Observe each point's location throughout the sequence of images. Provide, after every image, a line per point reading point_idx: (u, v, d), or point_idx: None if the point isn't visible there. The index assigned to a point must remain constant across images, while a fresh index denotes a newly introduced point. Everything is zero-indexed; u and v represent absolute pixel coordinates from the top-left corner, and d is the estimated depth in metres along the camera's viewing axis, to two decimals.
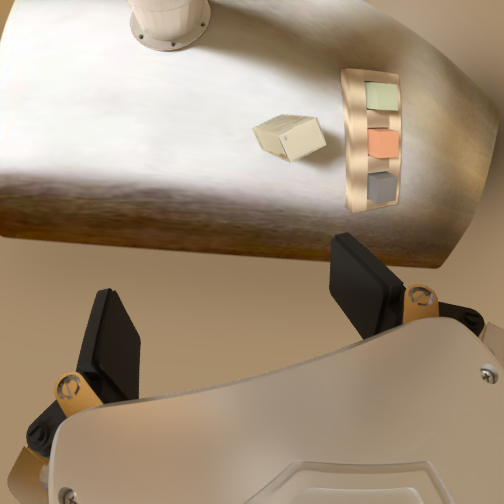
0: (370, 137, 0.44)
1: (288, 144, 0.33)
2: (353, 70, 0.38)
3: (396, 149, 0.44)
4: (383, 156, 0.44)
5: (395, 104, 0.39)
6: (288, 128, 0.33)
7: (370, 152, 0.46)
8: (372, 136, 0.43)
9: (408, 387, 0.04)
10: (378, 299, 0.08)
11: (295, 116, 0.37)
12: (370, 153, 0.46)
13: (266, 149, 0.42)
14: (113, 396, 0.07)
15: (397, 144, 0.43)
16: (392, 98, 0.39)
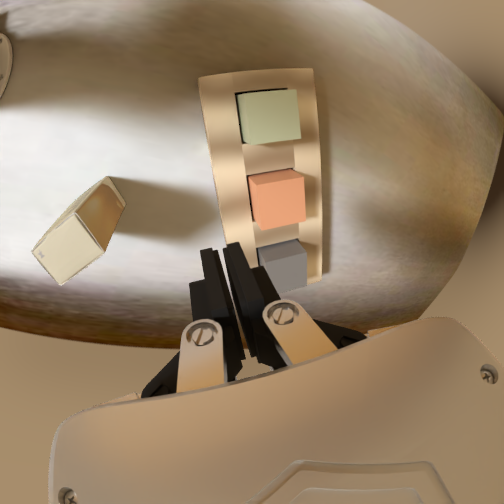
0: (252, 192, 0.29)
1: (48, 262, 0.18)
2: (209, 78, 0.23)
3: (300, 210, 0.29)
4: (272, 225, 0.29)
5: (294, 127, 0.24)
6: (44, 237, 0.18)
7: (255, 216, 0.31)
8: (253, 191, 0.29)
9: (408, 387, 0.04)
10: None
11: (88, 193, 0.22)
12: (255, 218, 0.31)
13: None
14: None
15: (302, 200, 0.28)
16: (286, 117, 0.24)
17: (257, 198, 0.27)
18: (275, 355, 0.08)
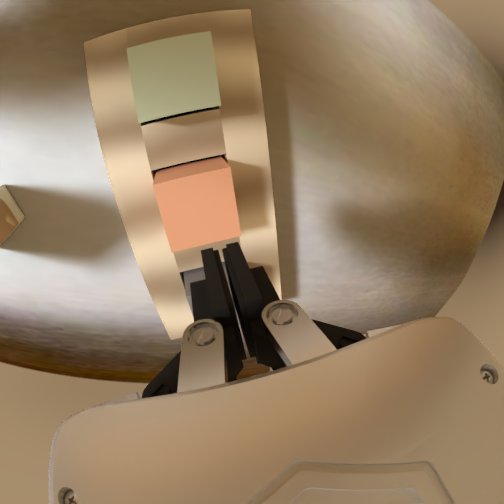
0: None
1: None
2: (96, 41, 0.12)
3: (229, 219, 0.19)
4: (186, 245, 0.19)
5: (208, 89, 0.14)
6: None
7: None
8: None
9: (408, 387, 0.04)
10: None
11: None
12: None
13: None
14: None
15: (232, 204, 0.18)
16: (193, 75, 0.13)
17: None
18: (275, 355, 0.08)
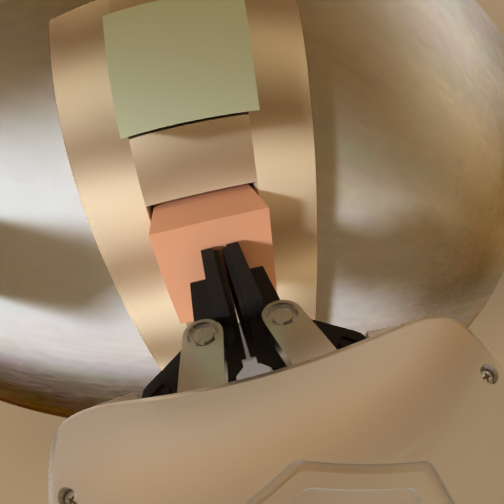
0: None
1: None
2: (67, 17, 0.07)
3: None
4: None
5: (238, 82, 0.08)
6: None
7: None
8: None
9: (408, 387, 0.04)
10: None
11: None
12: None
13: None
14: None
15: (268, 261, 0.13)
16: (214, 57, 0.08)
17: None
18: (275, 355, 0.08)
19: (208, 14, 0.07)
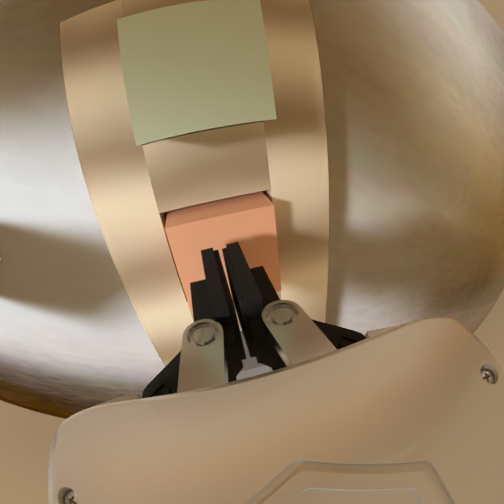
0: None
1: None
2: (78, 19, 0.07)
3: (268, 272, 0.14)
4: None
5: (255, 90, 0.08)
6: None
7: None
8: None
9: (408, 387, 0.04)
10: None
11: None
12: None
13: None
14: None
15: (273, 253, 0.14)
16: (231, 64, 0.08)
17: None
18: (275, 355, 0.08)
19: (225, 20, 0.07)
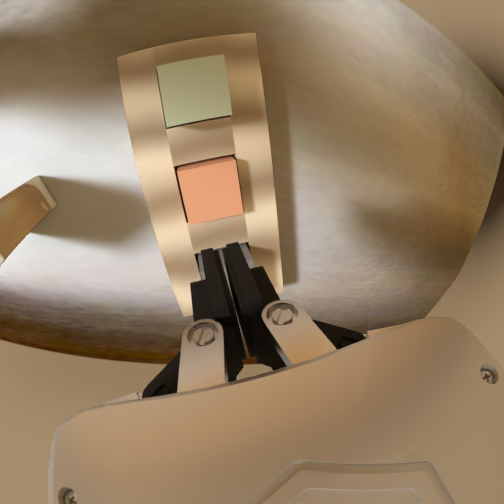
0: None
1: None
2: (128, 57, 0.17)
3: (234, 200, 0.24)
4: (201, 219, 0.24)
5: (221, 101, 0.18)
6: None
7: None
8: None
9: (408, 387, 0.04)
10: None
11: None
12: None
13: None
14: None
15: (236, 188, 0.24)
16: (210, 90, 0.18)
17: (180, 187, 0.23)
18: (275, 355, 0.08)
19: (207, 68, 0.17)
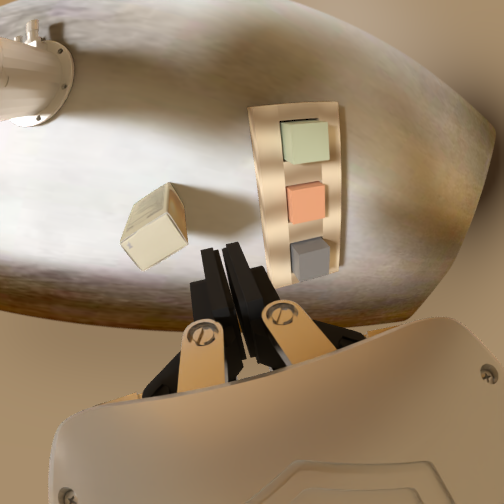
0: None
1: (135, 252, 0.26)
2: (260, 108, 0.31)
3: (321, 209, 0.38)
4: (300, 221, 0.39)
5: (324, 151, 0.33)
6: (133, 231, 0.26)
7: None
8: (287, 195, 0.38)
9: (408, 387, 0.04)
10: None
11: (163, 197, 0.30)
12: None
13: None
14: None
15: (323, 202, 0.38)
16: (319, 144, 0.32)
17: (291, 200, 0.37)
18: (274, 355, 0.08)
19: (318, 130, 0.31)
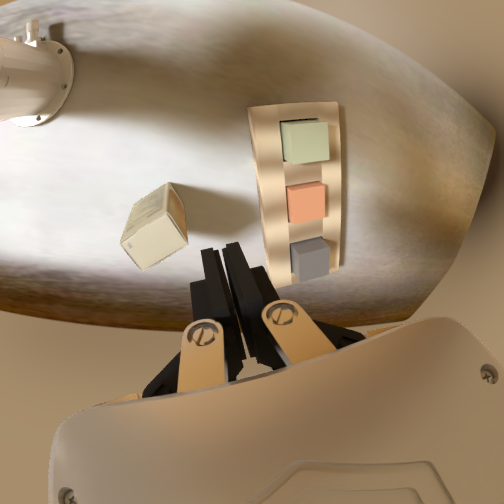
0: None
1: (135, 251, 0.26)
2: (260, 108, 0.31)
3: (321, 209, 0.38)
4: (300, 221, 0.39)
5: (324, 151, 0.33)
6: (133, 231, 0.26)
7: None
8: (287, 195, 0.38)
9: (408, 387, 0.04)
10: None
11: (163, 197, 0.30)
12: None
13: None
14: None
15: (323, 202, 0.38)
16: (319, 144, 0.32)
17: (291, 200, 0.37)
18: (275, 355, 0.08)
19: (318, 130, 0.31)
